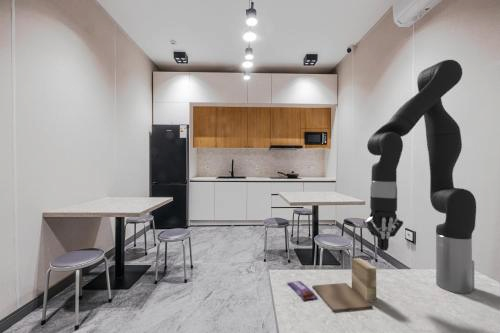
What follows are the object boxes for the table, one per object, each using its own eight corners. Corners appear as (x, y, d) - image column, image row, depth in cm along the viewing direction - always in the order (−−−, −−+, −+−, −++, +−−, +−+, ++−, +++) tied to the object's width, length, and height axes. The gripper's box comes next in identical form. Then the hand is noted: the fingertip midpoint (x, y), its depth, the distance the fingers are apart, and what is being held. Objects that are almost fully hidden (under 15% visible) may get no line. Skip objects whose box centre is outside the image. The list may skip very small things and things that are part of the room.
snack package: (286, 280, 84) (299, 278, 85) (286, 285, 84) (299, 283, 85) (303, 296, 73) (318, 294, 74) (303, 303, 73) (318, 300, 74)
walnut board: (345, 284, 83) (345, 283, 83) (372, 308, 69) (372, 305, 69) (312, 287, 81) (312, 285, 81) (333, 311, 67) (333, 309, 67)
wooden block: (360, 288, 81) (360, 258, 81) (376, 301, 73) (376, 268, 73) (351, 289, 80) (351, 258, 80) (367, 302, 72) (367, 268, 72)
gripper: (393, 194, 83) (392, 245, 83) (357, 194, 81) (356, 246, 80) (411, 196, 75) (410, 253, 75) (372, 196, 73) (371, 254, 73)
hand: (382, 249), depth 78 cm, fingers closed
